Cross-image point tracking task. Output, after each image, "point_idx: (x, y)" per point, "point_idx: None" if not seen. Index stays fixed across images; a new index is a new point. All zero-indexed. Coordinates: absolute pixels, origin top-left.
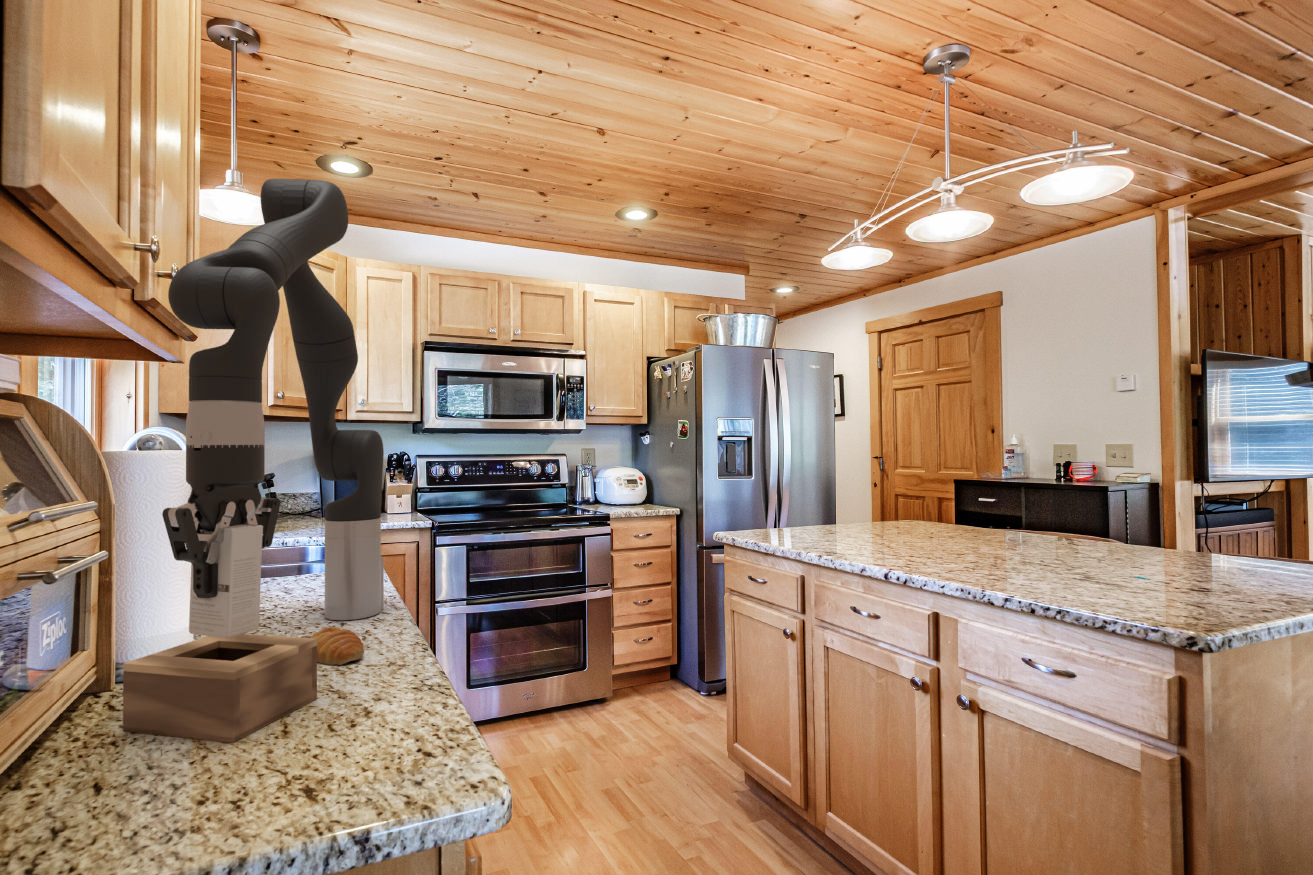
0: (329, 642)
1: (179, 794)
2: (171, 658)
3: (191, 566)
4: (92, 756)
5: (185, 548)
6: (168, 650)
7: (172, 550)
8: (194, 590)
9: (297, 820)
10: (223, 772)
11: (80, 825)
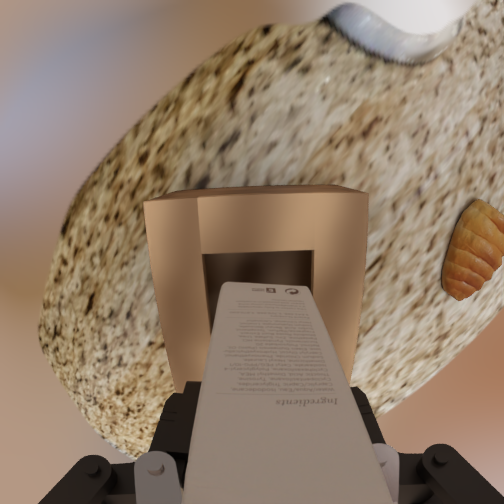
0: (471, 260)
1: (115, 372)
2: (191, 264)
3: (199, 397)
4: (120, 230)
5: (101, 496)
6: (230, 206)
7: (64, 477)
8: (169, 400)
9: (136, 444)
10: (151, 379)
11: (65, 341)
